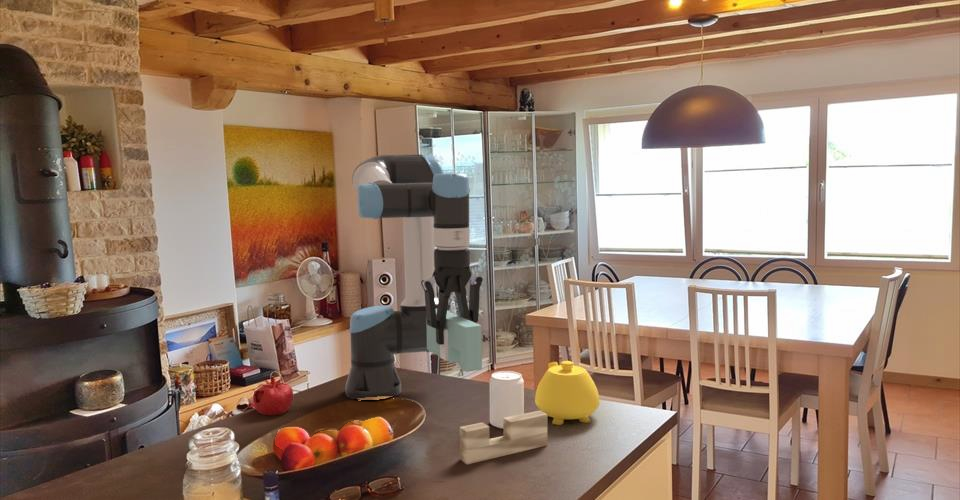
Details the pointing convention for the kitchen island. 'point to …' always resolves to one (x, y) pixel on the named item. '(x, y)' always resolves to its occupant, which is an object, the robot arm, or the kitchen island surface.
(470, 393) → the kitchen island surface
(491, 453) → the birch rail
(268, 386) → the pomegranate
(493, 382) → the beverage can
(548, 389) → the teapot
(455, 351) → the teal board
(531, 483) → the kitchen island surface
